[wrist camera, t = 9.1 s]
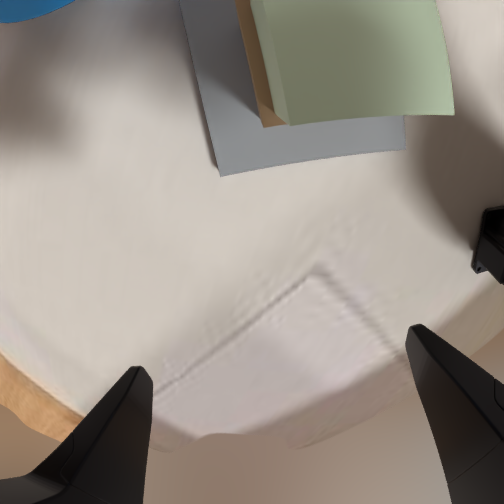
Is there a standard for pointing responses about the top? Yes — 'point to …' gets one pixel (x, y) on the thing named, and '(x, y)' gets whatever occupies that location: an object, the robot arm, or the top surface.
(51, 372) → the top surface
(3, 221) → the top surface
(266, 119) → the walnut block
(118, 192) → the top surface
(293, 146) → the mat
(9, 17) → the alarm clock
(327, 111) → the sage cube
